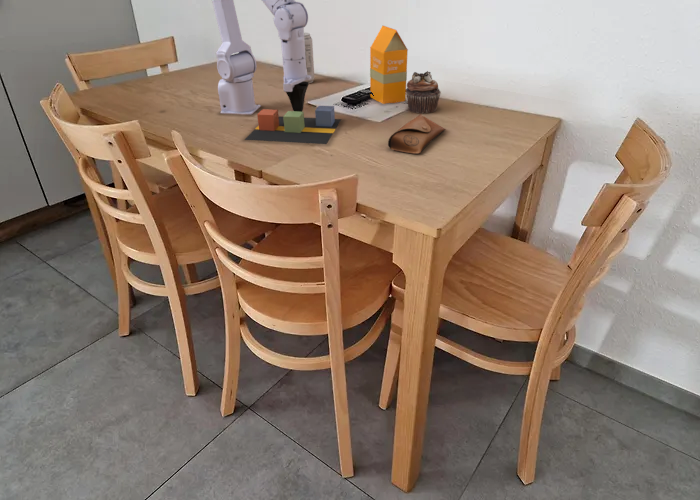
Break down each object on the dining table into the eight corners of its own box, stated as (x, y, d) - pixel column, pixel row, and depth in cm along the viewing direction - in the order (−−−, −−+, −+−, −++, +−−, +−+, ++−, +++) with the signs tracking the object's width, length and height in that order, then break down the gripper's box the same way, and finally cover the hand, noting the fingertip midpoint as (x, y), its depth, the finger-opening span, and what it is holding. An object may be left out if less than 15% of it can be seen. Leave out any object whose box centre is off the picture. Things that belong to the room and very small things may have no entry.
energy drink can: (316, 79, 168) (314, 32, 160) (311, 84, 163) (308, 36, 155) (300, 78, 170) (296, 32, 161) (294, 83, 165) (290, 35, 156)
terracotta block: (259, 130, 128) (257, 114, 125) (264, 124, 131) (262, 109, 129) (274, 130, 127) (272, 115, 125) (279, 125, 130) (277, 109, 128)
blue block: (315, 126, 129) (314, 110, 127) (319, 120, 133) (318, 105, 130) (331, 126, 128) (330, 111, 126) (334, 121, 132) (334, 105, 130)
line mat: (244, 140, 122) (244, 139, 122) (268, 117, 137) (267, 115, 137) (326, 145, 119) (326, 144, 119) (341, 120, 133) (341, 119, 133)
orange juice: (382, 104, 144) (383, 31, 133) (369, 97, 151) (369, 26, 139) (406, 101, 146) (409, 28, 135) (392, 93, 153) (394, 23, 142)
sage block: (284, 132, 126) (283, 116, 124) (289, 126, 129) (287, 110, 127) (300, 133, 125) (299, 116, 123) (304, 127, 129) (303, 111, 126)
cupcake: (411, 115, 135) (413, 78, 130) (401, 105, 143) (402, 69, 138) (444, 112, 137) (447, 75, 131) (432, 102, 145) (435, 67, 139)
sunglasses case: (421, 153, 112) (408, 126, 110) (396, 163, 116) (384, 138, 115) (447, 128, 125) (436, 104, 123) (424, 138, 129) (413, 115, 128)
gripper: (301, 65, 115) (305, 121, 123) (316, 51, 127) (319, 103, 135) (272, 64, 116) (278, 120, 124) (290, 50, 128) (294, 102, 136)
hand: (298, 111), depth 129 cm, fingers closed
